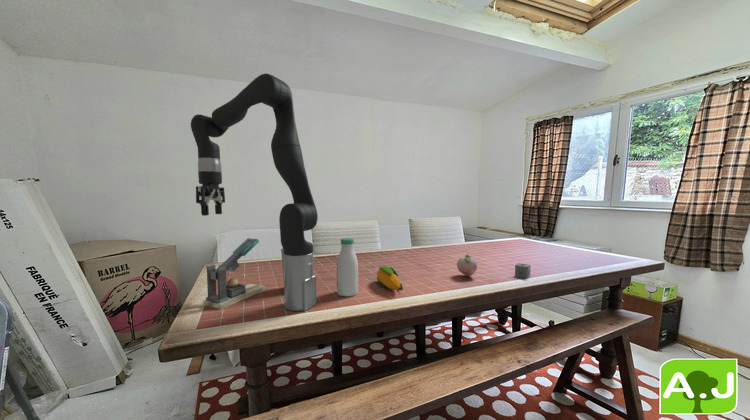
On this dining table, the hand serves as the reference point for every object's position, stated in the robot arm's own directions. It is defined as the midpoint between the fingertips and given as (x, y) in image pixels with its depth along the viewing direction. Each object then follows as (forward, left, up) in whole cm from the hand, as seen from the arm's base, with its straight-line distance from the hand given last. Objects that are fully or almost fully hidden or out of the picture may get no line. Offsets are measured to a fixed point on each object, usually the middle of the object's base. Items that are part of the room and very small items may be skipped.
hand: (212, 214), depth 105 cm
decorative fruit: (-87, -55, -29) cm, 106 cm away
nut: (-14, +4, -25) cm, 29 cm away
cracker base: (-14, +3, -28) cm, 32 cm away
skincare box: (-27, -12, -29) cm, 41 cm away
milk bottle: (-48, -16, -29) cm, 58 cm away
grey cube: (-109, -65, -29) cm, 131 cm away
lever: (-14, +3, -20) cm, 24 cm away
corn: (-61, -28, -29) cm, 73 cm away
